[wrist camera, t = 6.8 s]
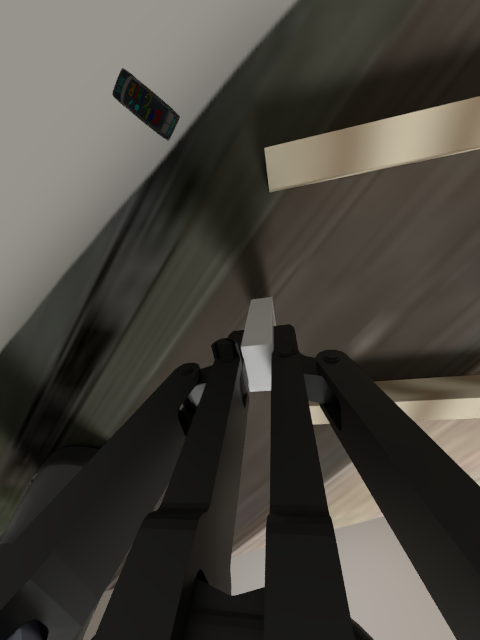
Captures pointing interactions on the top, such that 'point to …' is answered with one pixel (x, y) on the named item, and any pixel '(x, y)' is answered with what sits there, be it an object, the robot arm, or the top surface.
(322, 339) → the top surface
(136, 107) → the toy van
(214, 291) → the top surface
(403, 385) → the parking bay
